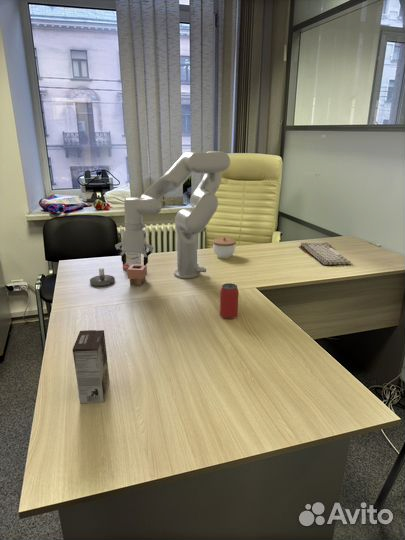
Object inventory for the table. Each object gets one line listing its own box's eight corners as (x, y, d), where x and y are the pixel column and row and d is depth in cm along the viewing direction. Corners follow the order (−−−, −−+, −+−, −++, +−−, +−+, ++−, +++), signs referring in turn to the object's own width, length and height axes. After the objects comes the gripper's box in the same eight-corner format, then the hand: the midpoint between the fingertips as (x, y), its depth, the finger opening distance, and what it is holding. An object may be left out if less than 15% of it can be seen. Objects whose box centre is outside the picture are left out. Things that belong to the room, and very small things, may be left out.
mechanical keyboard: (356, 266, 193) (357, 260, 192) (321, 268, 191) (322, 261, 190) (326, 246, 228) (326, 240, 227) (296, 247, 226) (296, 242, 225)
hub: (118, 278, 174) (117, 265, 172) (110, 287, 164) (108, 273, 162) (95, 277, 175) (94, 264, 173) (86, 286, 165) (84, 272, 163)
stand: (145, 279, 174) (144, 262, 171) (140, 286, 165) (139, 269, 163) (135, 278, 174) (134, 262, 172) (130, 285, 166) (128, 269, 163)
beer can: (239, 313, 141) (240, 284, 137) (235, 320, 135) (236, 290, 131) (222, 310, 143) (223, 281, 139) (217, 318, 137) (218, 288, 133)
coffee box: (86, 381, 102) (79, 329, 96) (110, 380, 102) (105, 329, 97) (78, 404, 93) (71, 349, 88) (104, 402, 94) (98, 347, 88)
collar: (147, 273, 172) (146, 264, 170) (143, 279, 165) (142, 270, 164) (132, 273, 172) (131, 264, 171) (127, 278, 166) (127, 269, 164)
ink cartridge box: (122, 269, 186) (120, 241, 180) (125, 266, 190) (123, 238, 185) (139, 270, 185) (137, 242, 180) (141, 267, 189) (140, 239, 184)
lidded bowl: (223, 251, 214) (224, 233, 211) (240, 256, 206) (240, 237, 202) (208, 256, 206) (208, 237, 203) (224, 261, 198) (224, 241, 194)
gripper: (155, 226, 163) (155, 262, 169) (117, 223, 165) (118, 260, 171) (151, 229, 156) (151, 268, 162) (111, 227, 158) (113, 265, 164)
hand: (134, 264), depth 166 cm, fingers open, 9 cm apart
